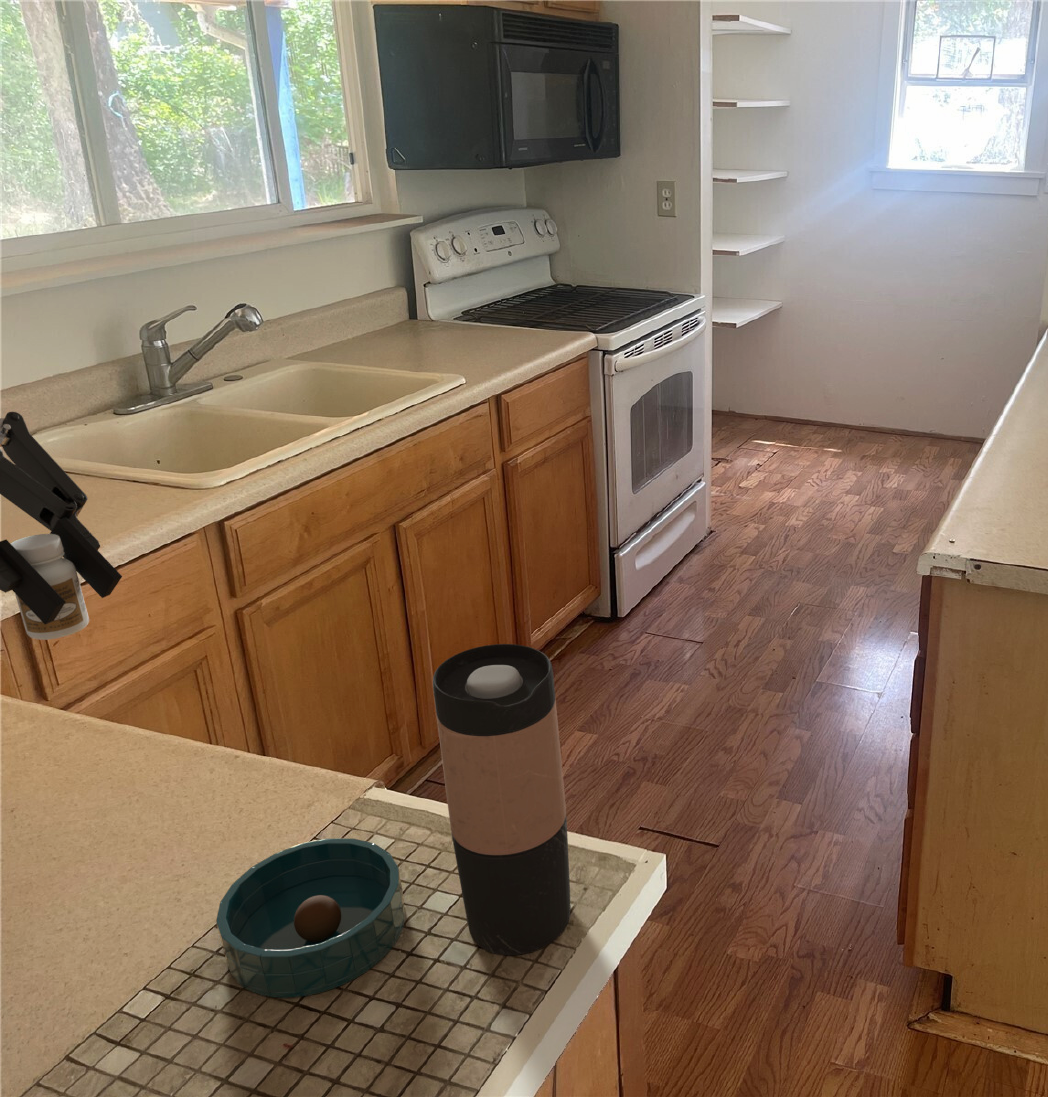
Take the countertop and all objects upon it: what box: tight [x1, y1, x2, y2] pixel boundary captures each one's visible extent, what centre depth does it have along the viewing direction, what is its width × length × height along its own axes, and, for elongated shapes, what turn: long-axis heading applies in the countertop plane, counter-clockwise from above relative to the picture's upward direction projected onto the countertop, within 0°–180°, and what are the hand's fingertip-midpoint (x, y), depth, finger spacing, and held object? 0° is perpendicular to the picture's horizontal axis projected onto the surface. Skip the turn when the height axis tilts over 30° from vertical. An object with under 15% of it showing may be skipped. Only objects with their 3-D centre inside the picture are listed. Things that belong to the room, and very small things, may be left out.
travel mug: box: [432, 643, 571, 956], centre depth 69 cm, size 8×8×20 cm
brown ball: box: [294, 895, 341, 942], centre depth 70 cm, size 3×3×3 cm
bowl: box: [215, 837, 406, 999], centre depth 71 cm, size 12×12×4 cm
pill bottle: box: [10, 533, 90, 641], centre depth 82 cm, size 4×4×8 cm
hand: (84, 599), depth 81 cm, fingers closed on pill bottle, 4 cm apart
